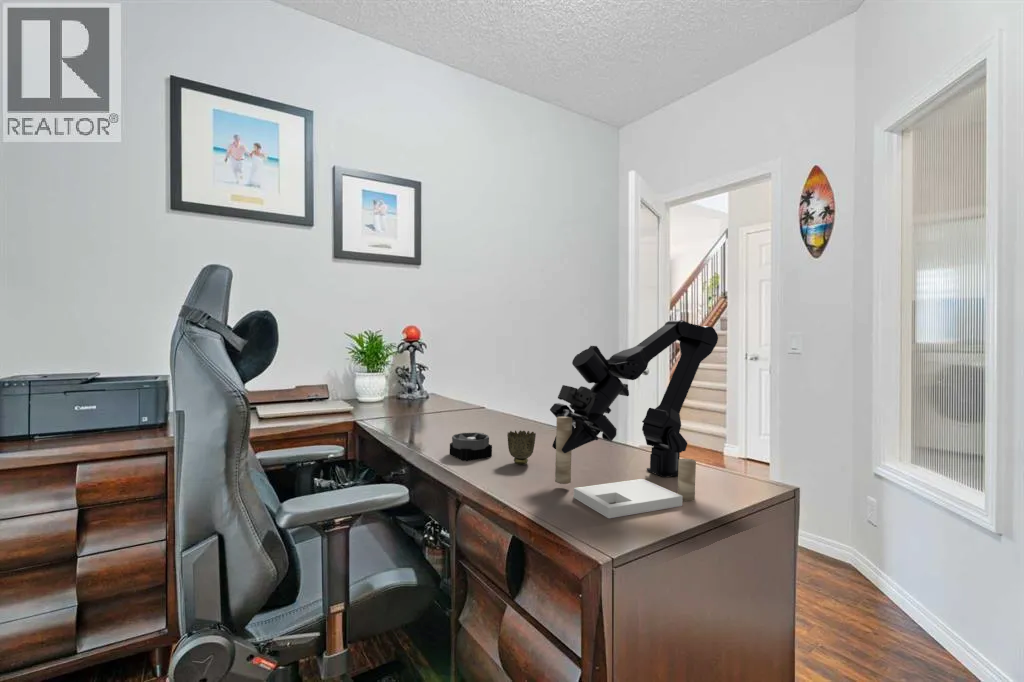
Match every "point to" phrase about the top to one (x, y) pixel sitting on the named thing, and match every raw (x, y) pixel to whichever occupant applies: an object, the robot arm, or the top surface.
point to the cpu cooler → (470, 446)
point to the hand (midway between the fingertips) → (558, 449)
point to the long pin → (561, 458)
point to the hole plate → (627, 497)
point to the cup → (521, 445)
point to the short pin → (686, 479)
